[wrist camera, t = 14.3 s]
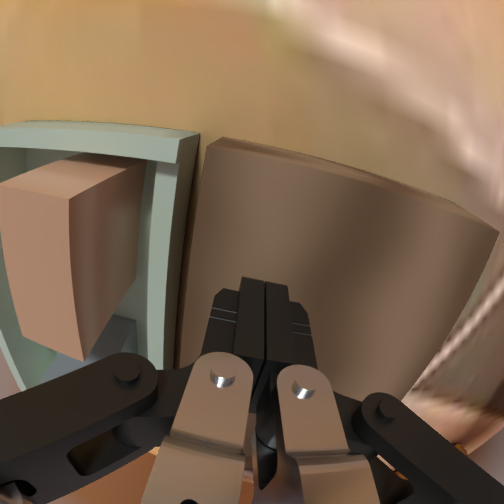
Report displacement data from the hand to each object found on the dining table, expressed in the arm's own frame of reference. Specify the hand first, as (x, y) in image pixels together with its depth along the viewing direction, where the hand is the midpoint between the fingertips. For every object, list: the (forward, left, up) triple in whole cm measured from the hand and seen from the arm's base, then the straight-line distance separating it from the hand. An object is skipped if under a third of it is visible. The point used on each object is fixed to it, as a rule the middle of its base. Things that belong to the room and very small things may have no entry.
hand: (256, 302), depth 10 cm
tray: (+9, +4, -5) cm, 11 cm away
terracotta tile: (+6, 0, -1) cm, 6 cm away
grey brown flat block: (-3, +4, -5) cm, 7 cm away
